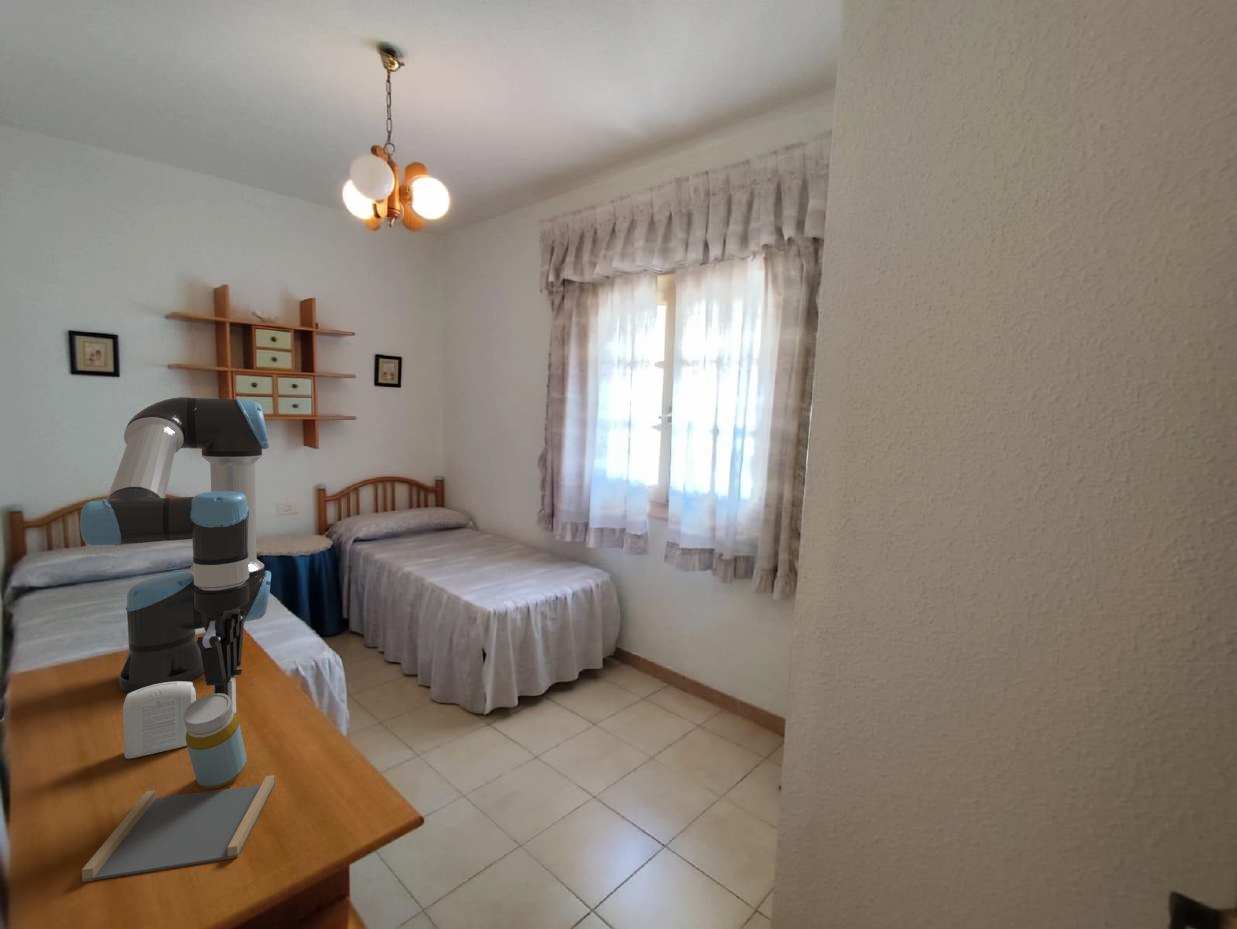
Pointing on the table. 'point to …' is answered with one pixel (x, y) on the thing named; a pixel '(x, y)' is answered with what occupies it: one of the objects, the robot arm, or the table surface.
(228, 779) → the bottle
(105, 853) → the grey tray
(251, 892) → the table surface
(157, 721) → the photo printer
